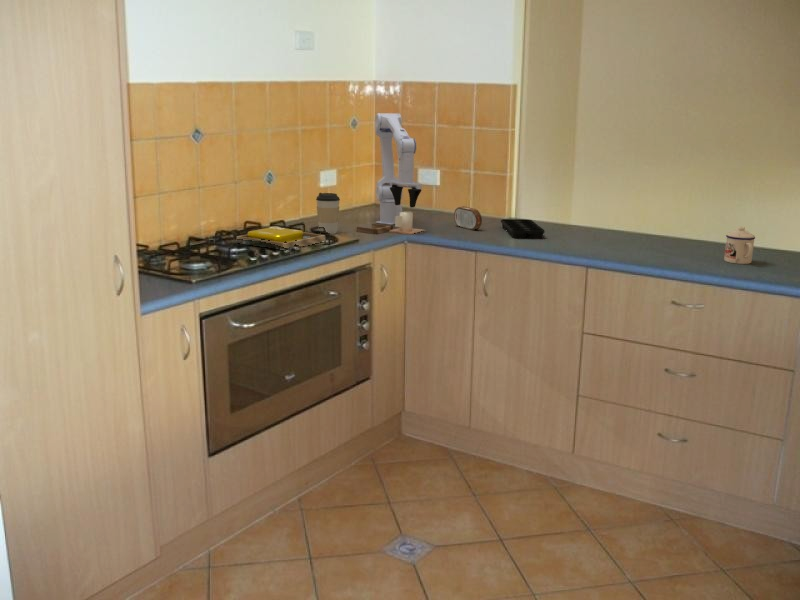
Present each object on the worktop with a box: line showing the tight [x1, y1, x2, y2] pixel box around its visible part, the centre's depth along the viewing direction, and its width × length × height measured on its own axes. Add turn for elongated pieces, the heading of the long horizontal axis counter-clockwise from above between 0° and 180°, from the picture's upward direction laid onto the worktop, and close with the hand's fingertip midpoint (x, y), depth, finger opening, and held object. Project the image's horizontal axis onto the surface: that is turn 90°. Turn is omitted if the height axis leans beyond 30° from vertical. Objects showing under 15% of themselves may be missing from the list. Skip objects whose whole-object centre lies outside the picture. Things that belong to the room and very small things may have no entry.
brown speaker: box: [453, 205, 483, 231], centre depth 344 cm, size 15×3×8 cm, turn 34°
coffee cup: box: [315, 192, 341, 235], centre depth 327 cm, size 9×9×15 cm
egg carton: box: [500, 218, 545, 240], centre depth 338 cm, size 18×30×4 cm, turn 15°
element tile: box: [247, 226, 304, 243], centre depth 306 cm, size 15×15×5 cm
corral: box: [236, 231, 326, 248], centre depth 305 cm, size 22×22×2 cm
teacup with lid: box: [723, 226, 756, 265], centre depth 287 cm, size 12×9×12 cm
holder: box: [356, 223, 394, 235], centre depth 334 cm, size 11×9×2 cm
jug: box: [394, 210, 414, 231], centre depth 332 cm, size 8×5×7 cm, turn 132°
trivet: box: [388, 227, 426, 236], centre depth 334 cm, size 10×10×1 cm
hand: (405, 206), depth 332 cm, fingers open, 7 cm apart
